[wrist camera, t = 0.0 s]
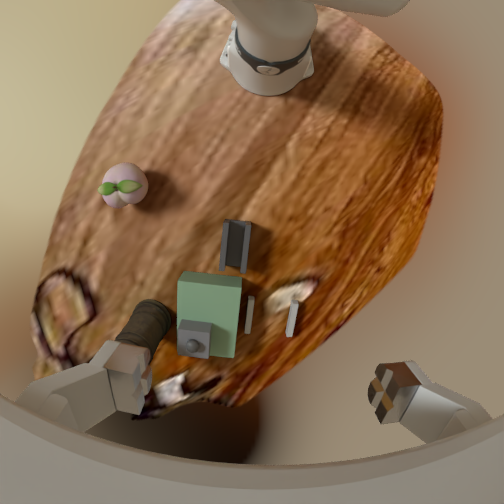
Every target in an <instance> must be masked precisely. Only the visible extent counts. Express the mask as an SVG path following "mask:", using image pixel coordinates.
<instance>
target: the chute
mask: <svg viewBox="0 0 504 504" xmlns="http://www.w3.org/2000/svg"><path fill="white" fill-rule="evenodd" d="M250 232H251V222H249V221H240V220H230V219H225V220H224V222H223V232H222V242H221V253H220V264H219V271H224V270H225V266H226V265H228V266H238V267H241V270H240V273H246V267H247V258H248V249H249V241H250Z"/></svg>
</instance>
